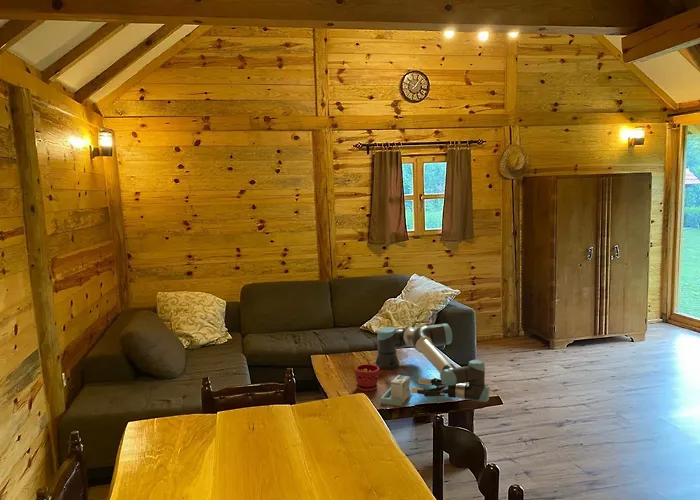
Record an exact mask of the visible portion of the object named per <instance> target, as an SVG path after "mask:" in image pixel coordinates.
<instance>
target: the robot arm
mask: <svg viewBox="0 0 700 500" xmlns="http://www.w3.org/2000/svg"><path fill="white" fill-rule="evenodd" d="M376 338H377V339H376V340H377V341H376V342H377V356H376V359H375V362H374V363H375V364H374V365H375V366H377V367H379V370H394V369H398V368H399V367H400V359H399V356H398V353H397V349H401V348H408V347H414V349H415V350H416V351H417V352H418V353H421V354H422V355H423V356H424V357H425V358H426V359H427V361H428V362H429V363H430V364H431V365H432V366H433V367H434V368H435V369H436V370H437V371H438V373H439V378H436V377H433V378H421V377H418V381H417V382H418V384H420V385H428V386H435V387H434V388H425V387H424V388H422V387H413V386H411V387H410V389H411V394H417V395H423V397H424V398H431V397H433V398H434V397H445V394H446V395H447V396H448V398H453V399H455V398H457V399H461V400H469V401H476V402H489V400H490V394H491V393H490V386H488V385H486V384H485V383H486V382H485V380H486V379H485V377H486V376H485V375H486V373H485V372H486V366H485V362H484V361H482V360H479V359H472V360H471V359H470V360H469V361H468V365H467V366H460V367H459V366H458V367H456V366H455V364H453V363H452V362H451V361H450V360H449V359H448V358H447V356H445V355H444V353H443V352H441V351H440V350H439V348H437V347H438V346H439V347H440V346H447V345H450V344H451V343H452V342H453V332H452V328H451V327H450V325H449V324H448V323H443V322H442V323H438V324H437V323H436V324H430V325H421V326H419V327H415V326H409V327H404V328H396V327H393V326H387V327H382V328H380V329H379V330H378V331H377V337H376Z"/></svg>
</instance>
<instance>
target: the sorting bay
mask: <svg viewBox="0 0 700 500" xmlns="http://www.w3.org/2000/svg"><path fill="white" fill-rule="evenodd" d="M412 397H413V393H411V388H410V396H409V397H408V398H407V399H406V400H405V401H404V402H403V403H402V400H398V399H391V386H390V387H389V388H388V389H387V391H386V392H385V393H384V394H383V395H381V397H380V405H383V406H384V405H385V406H393V407H399V408H400V407H401V408H404V407H405V406H406V405H407V404H408V402H409V401H410V399H411V398H412Z"/></svg>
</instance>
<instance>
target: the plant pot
mask: <svg viewBox="0 0 700 500" xmlns="http://www.w3.org/2000/svg"><path fill="white" fill-rule="evenodd" d="M365 369H366V371H364V370H365ZM354 373H355V374H354V375H355V380H356V388H357V389H358V390H359V391H362V392H372V391H375V390H377V388H378V381H379V378H380V377H379V376H380V368H379V367H377V366H375V364H370V363H369V364H368V363H364V364H363V363H362V364H359V365H357V366H355V372H354Z"/></svg>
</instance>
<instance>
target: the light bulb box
mask: <svg viewBox="0 0 700 500" xmlns="http://www.w3.org/2000/svg"><path fill="white" fill-rule="evenodd" d="M410 380H411V379H410V376H408V375H401V374H398V375H397V376H395V377H394V378H393V379H392V380H391V381H390V387H391V399H398V400H402V403H403V402H404V401H405V400H406V399H407V398H408V397H409V396H410V389H411V387H410Z"/></svg>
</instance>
